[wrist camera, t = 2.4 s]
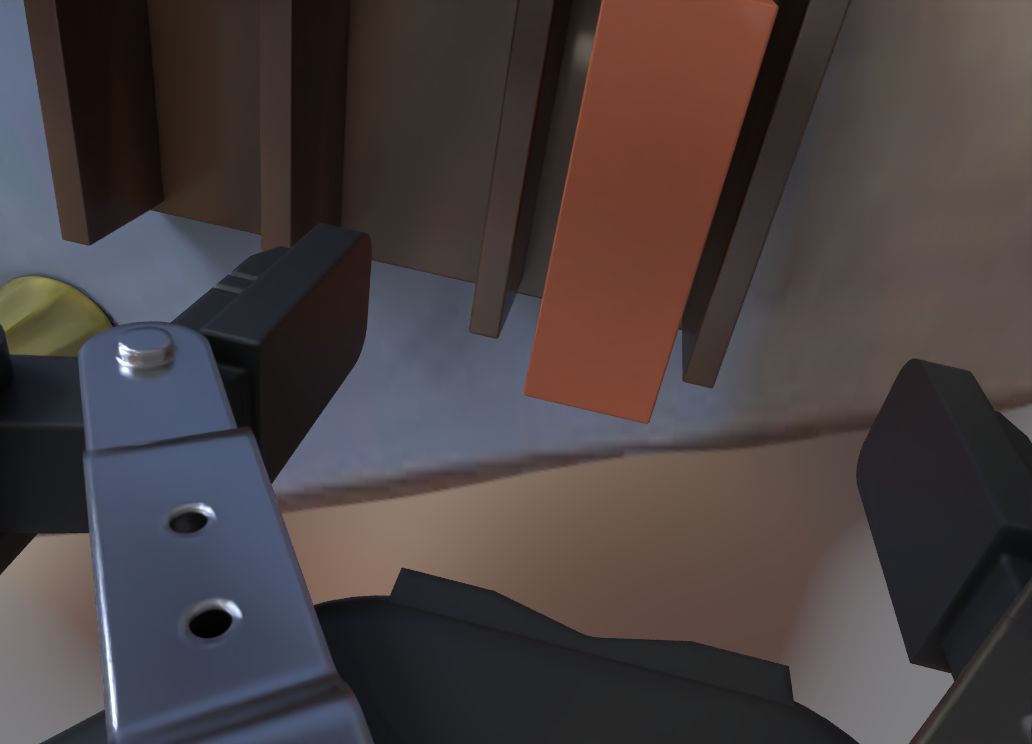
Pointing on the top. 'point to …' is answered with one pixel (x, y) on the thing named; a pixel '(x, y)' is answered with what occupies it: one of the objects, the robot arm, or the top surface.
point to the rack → (387, 132)
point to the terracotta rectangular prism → (642, 194)
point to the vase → (48, 317)
